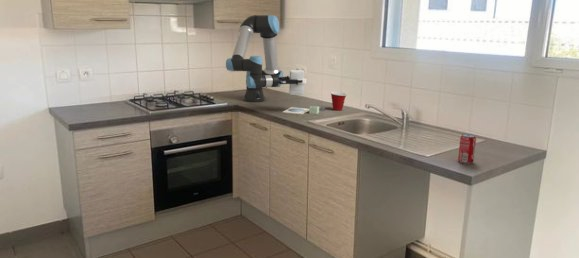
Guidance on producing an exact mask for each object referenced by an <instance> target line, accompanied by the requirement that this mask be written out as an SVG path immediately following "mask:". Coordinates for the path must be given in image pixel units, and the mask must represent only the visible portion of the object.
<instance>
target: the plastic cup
mask: <svg viewBox="0 0 579 258" xmlns="http://www.w3.org/2000/svg"><path fill="white" fill-rule="evenodd" d="M346 96H347V93H345V92H342V91H341V92H339V91H330V97H331V104H332V110H333V111H336V112H338V111H339V112H341V111H343V108H344V103H345V100H346Z"/></svg>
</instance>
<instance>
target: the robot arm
mask: <svg viewBox="0 0 579 258" xmlns="http://www.w3.org/2000/svg"><path fill="white" fill-rule="evenodd" d="M278 18H279V17H277V16H276V15H270V14H269V15H266V14H264V15H263V14H254V15H250V16H248V17H246V18H245V19H244V20H243V21H242V23H241V24H240V26H239V28H238V32H239V34H238V37H237V39H236V43H235V46H234V49H233V53H232V55H231V57H230V58H229V57H228V58H227V59H226V62H225V68H226V70H227V71H230V72H246V75H245V85H246V87H245V88H246V90H245V94H244V97H243V101H244V102H249V103H262V102H264V101H265V100H266V99H265V98H266V96H265V94H264V91H263V88H264V89H268V88H280V87H281V86H282V85H290V84H297V85H298V84H299V83H304V84H307V80H308V78H304V79H290V75H286V76H284V72H283V71H282V70H281V67H280V66H279V65H278V64H279V63H278V54H277V53H278V51H277V42H276V37H277V36H278V34H279V33H280V21H279V19H278ZM254 34H259V36H260V38H261V39H262V43H263V44H262V45H263V54H264V62H265V63H264V64H265V68H264V69H263V59H262V56H261V55H250V56H249V58H246V53H247V51H248V47H249V43H250V42H251V41H250V40H251V37H253V35H254Z"/></svg>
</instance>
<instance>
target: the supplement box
mask: <svg viewBox="0 0 579 258" xmlns="http://www.w3.org/2000/svg"><path fill="white" fill-rule="evenodd" d="M289 77H290V79H305V71H304V70H303V69H299V70H298V69H290V70H289ZM289 95H290V96H296V95H297V96H304V95H305V83H299V84H298V85H297V84H289Z"/></svg>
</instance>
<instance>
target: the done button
mask: <svg viewBox="0 0 579 258" xmlns="http://www.w3.org/2000/svg"><path fill="white" fill-rule="evenodd" d="M319 107H320V106H318V105H311V106H309V108H308V109H309V110H308V111H309V115H310V114H311V115H312V114H313V115H318V114H320V110H319Z"/></svg>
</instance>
